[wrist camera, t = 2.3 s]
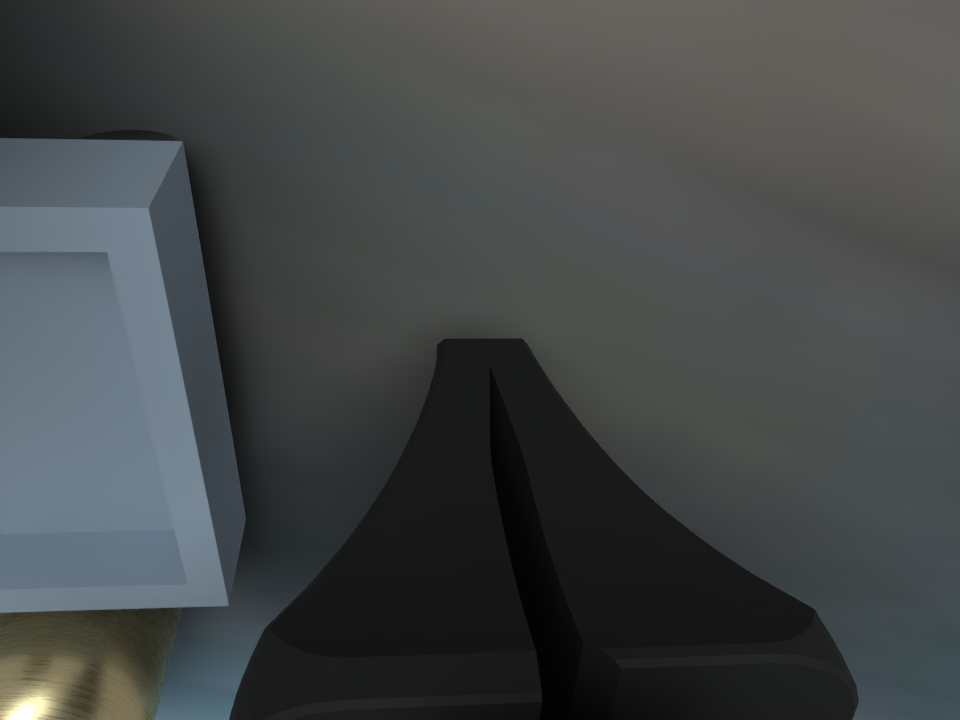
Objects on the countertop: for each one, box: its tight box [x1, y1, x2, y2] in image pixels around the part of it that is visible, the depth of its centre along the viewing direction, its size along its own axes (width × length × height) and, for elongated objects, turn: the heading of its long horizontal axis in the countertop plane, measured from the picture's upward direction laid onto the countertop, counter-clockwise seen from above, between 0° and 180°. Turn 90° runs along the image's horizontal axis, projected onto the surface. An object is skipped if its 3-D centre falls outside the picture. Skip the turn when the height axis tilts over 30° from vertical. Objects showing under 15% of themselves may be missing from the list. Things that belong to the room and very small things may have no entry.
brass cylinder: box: [0, 607, 183, 720], centre depth 17 cm, size 4×4×6 cm
